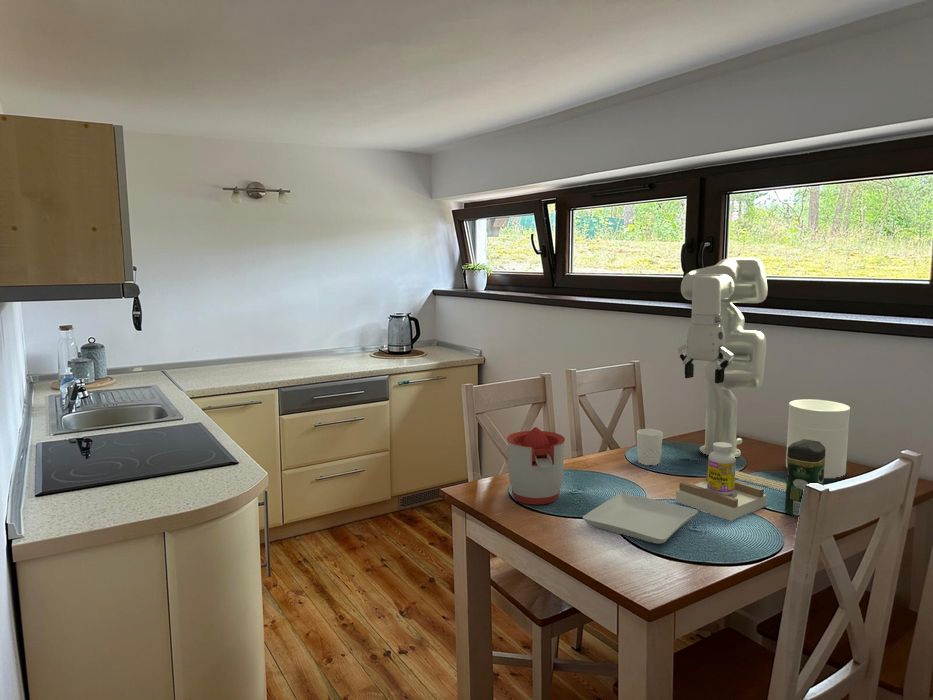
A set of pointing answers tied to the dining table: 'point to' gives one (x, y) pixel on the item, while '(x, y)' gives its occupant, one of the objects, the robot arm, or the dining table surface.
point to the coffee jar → (802, 471)
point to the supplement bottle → (721, 469)
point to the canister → (821, 430)
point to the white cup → (649, 446)
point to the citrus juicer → (536, 465)
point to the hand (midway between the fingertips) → (703, 380)
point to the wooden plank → (760, 480)
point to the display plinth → (722, 499)
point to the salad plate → (640, 517)
